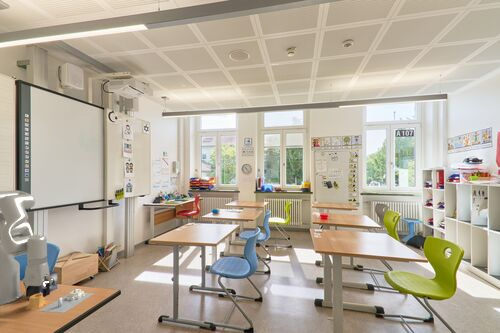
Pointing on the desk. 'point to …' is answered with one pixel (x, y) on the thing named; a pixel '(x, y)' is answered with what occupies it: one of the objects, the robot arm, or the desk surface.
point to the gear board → (65, 303)
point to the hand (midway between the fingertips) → (38, 295)
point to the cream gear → (75, 295)
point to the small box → (53, 286)
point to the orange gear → (36, 301)
